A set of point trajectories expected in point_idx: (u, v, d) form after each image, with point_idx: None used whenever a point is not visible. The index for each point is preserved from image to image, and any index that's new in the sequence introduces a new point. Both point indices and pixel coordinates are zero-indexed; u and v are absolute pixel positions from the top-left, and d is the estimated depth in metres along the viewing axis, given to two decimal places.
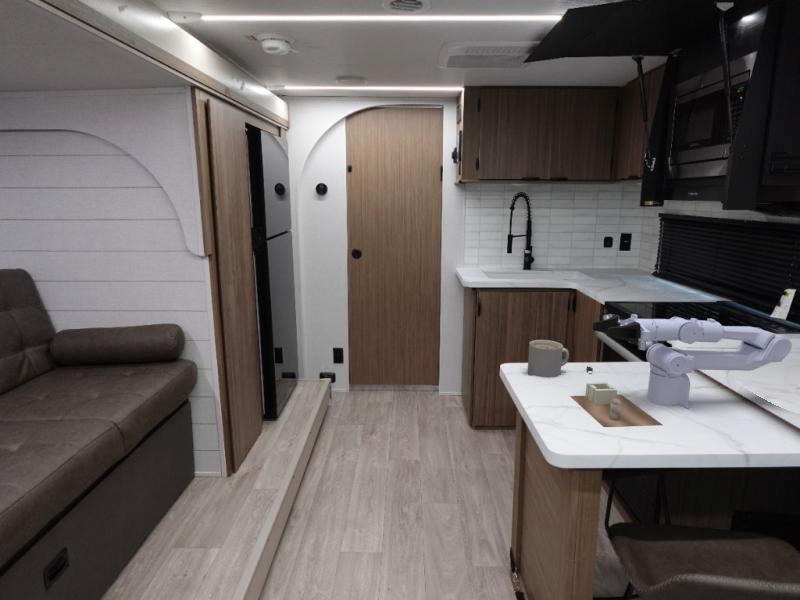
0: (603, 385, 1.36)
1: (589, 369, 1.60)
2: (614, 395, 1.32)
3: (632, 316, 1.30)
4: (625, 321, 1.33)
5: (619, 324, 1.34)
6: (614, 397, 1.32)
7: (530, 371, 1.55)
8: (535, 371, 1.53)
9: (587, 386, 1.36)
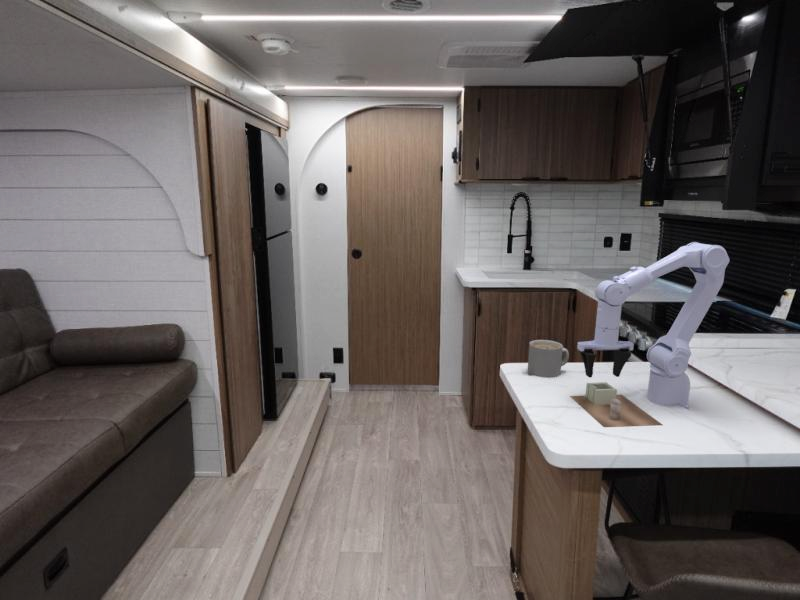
0: (603, 385, 1.36)
1: None
2: (614, 395, 1.32)
3: None
4: None
5: None
6: (614, 397, 1.32)
7: (530, 371, 1.55)
8: (535, 371, 1.53)
9: (587, 386, 1.36)
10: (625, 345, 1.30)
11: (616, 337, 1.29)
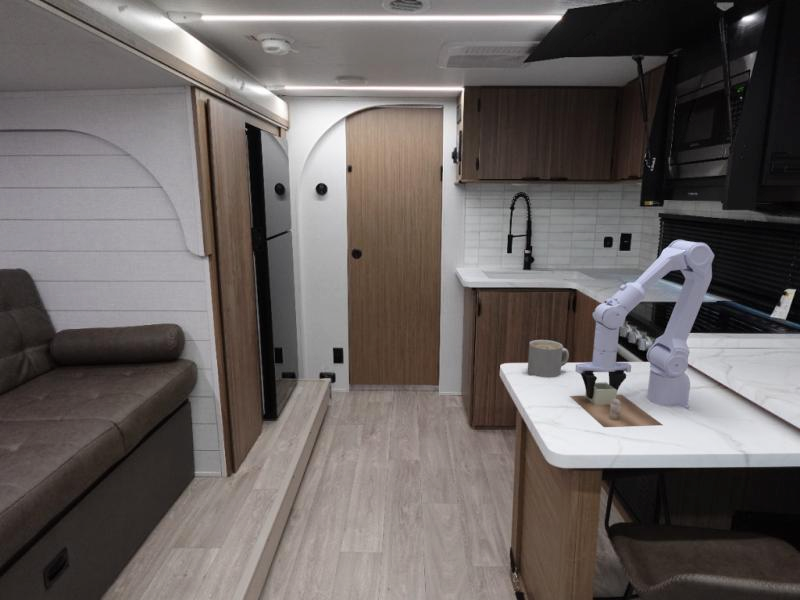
0: (603, 385, 1.36)
1: None
2: (614, 395, 1.32)
3: None
4: None
5: None
6: (614, 397, 1.32)
7: (530, 371, 1.55)
8: (535, 371, 1.53)
9: None
10: (623, 367, 1.32)
11: (614, 359, 1.30)
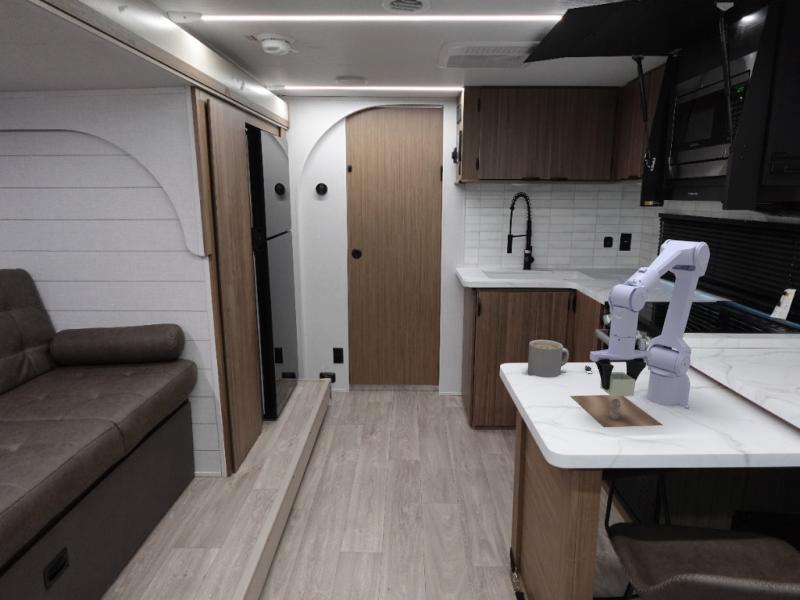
0: (620, 375, 1.24)
1: (588, 368, 1.61)
2: (632, 386, 1.20)
3: None
4: None
5: None
6: (632, 388, 1.20)
7: (530, 371, 1.55)
8: (535, 371, 1.53)
9: None
10: (642, 355, 1.19)
11: (633, 346, 1.18)
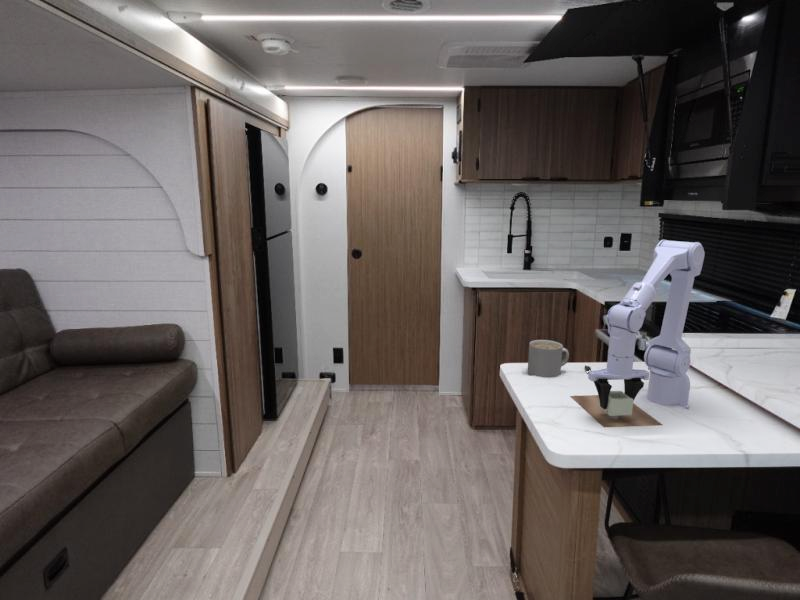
0: (618, 394, 1.25)
1: (587, 368, 1.61)
2: (630, 405, 1.21)
3: None
4: None
5: (631, 378, 1.23)
6: (630, 407, 1.21)
7: (530, 371, 1.55)
8: (535, 371, 1.53)
9: None
10: (640, 374, 1.20)
11: (630, 366, 1.19)
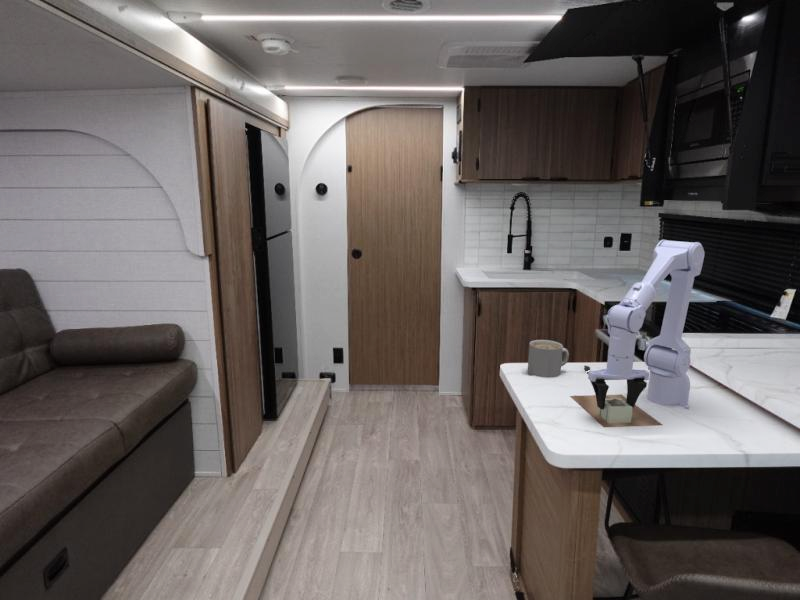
0: None
1: (587, 368, 1.61)
2: (629, 413, 1.21)
3: None
4: None
5: (631, 378, 1.23)
6: (629, 415, 1.21)
7: (530, 371, 1.55)
8: (535, 371, 1.53)
9: None
10: (640, 375, 1.20)
11: (630, 366, 1.19)
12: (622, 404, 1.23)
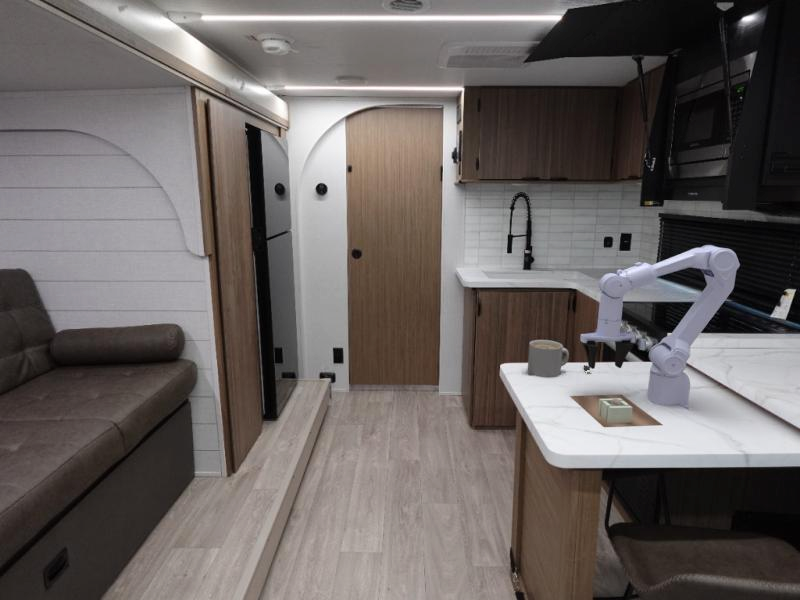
0: None
1: (586, 368, 1.61)
2: (629, 413, 1.21)
3: None
4: None
5: None
6: (629, 415, 1.21)
7: (530, 371, 1.55)
8: (535, 371, 1.53)
9: (600, 402, 1.25)
10: (627, 337, 1.33)
11: (618, 329, 1.31)
12: (622, 404, 1.23)
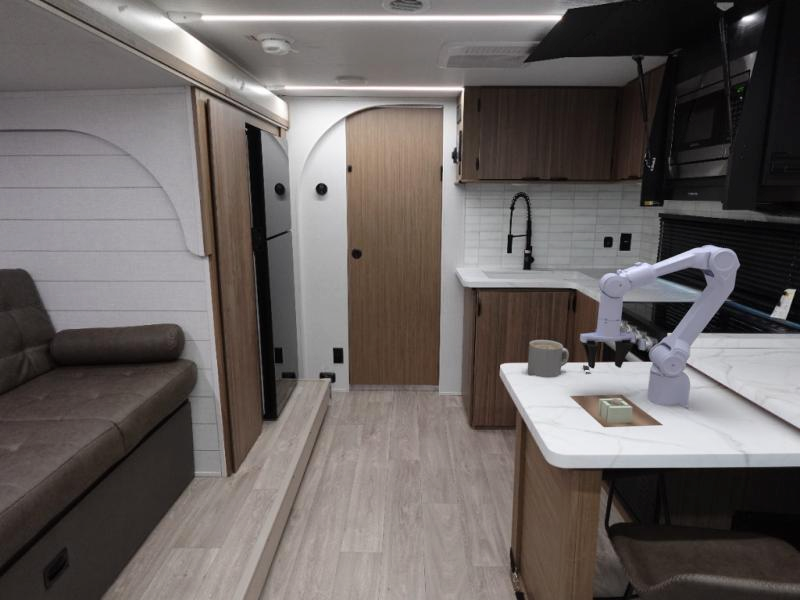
0: None
1: (586, 368, 1.61)
2: (629, 413, 1.21)
3: None
4: None
5: (619, 340, 1.36)
6: (629, 415, 1.21)
7: (530, 371, 1.55)
8: (535, 371, 1.53)
9: (600, 402, 1.25)
10: (627, 336, 1.33)
11: (618, 329, 1.32)
12: (622, 404, 1.23)
